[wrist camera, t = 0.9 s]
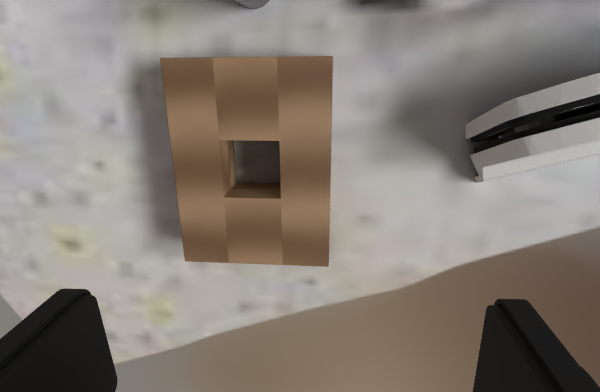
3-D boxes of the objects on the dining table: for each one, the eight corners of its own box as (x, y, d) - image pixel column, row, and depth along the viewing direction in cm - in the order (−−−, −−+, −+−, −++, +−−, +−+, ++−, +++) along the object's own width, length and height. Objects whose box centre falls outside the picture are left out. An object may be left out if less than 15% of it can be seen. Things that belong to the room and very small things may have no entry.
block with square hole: (182, 58, 30) (160, 58, 26) (332, 57, 29) (332, 56, 25) (201, 240, 35) (185, 261, 31) (329, 244, 34) (328, 266, 30)
